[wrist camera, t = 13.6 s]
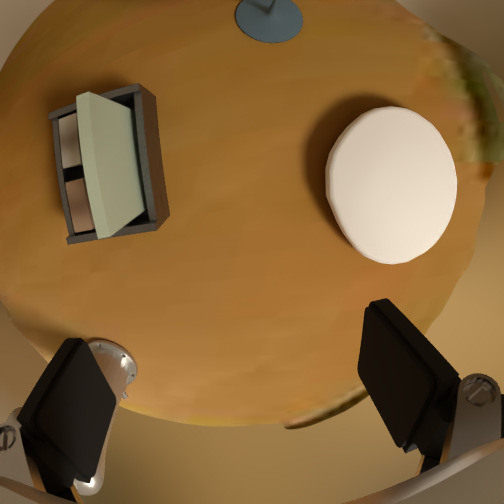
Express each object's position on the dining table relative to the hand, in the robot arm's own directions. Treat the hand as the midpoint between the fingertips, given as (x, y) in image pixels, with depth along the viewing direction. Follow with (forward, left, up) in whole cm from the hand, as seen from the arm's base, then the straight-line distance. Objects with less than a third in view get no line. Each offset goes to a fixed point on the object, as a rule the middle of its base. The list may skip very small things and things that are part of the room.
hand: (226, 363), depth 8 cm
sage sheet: (+8, +12, -35) cm, 38 cm away
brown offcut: (+12, +20, -35) cm, 42 cm away
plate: (0, -29, -37) cm, 47 cm away
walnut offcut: (+3, +20, -35) cm, 40 cm away
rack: (+8, +15, -36) cm, 40 cm away
